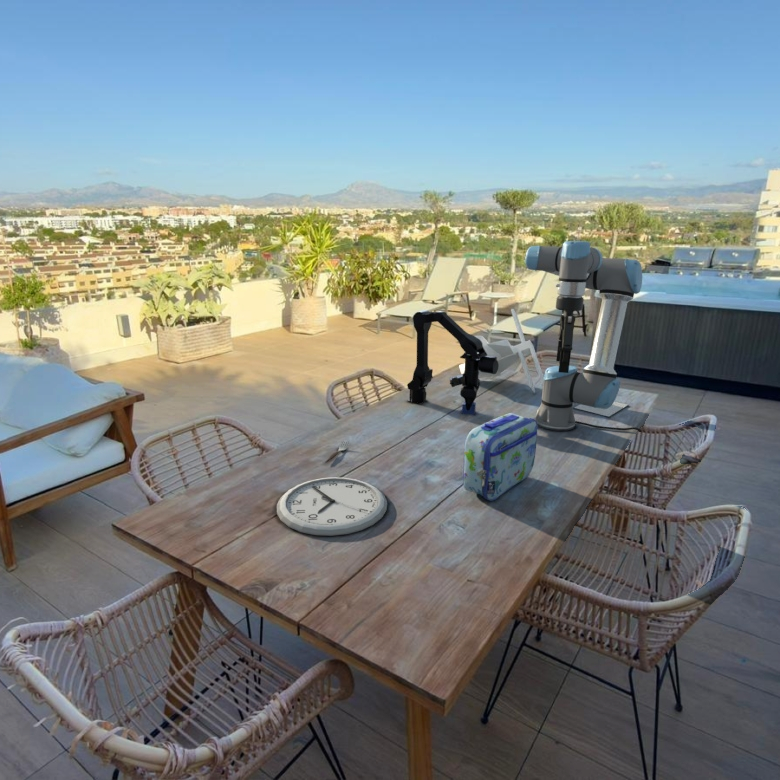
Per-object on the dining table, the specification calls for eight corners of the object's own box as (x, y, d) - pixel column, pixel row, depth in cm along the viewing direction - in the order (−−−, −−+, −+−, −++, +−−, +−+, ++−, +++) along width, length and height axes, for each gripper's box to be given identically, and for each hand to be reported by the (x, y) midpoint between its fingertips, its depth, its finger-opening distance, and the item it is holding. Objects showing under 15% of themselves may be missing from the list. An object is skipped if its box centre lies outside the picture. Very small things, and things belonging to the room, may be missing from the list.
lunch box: (487, 508, 142) (493, 436, 136) (456, 493, 150) (460, 425, 143) (537, 478, 160) (544, 414, 154) (507, 466, 167) (513, 405, 161)
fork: (322, 463, 168) (321, 457, 167) (343, 444, 182) (343, 439, 181) (329, 464, 167) (329, 458, 166) (349, 446, 181) (349, 440, 180)
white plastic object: (480, 422, 262) (459, 399, 237) (462, 348, 284) (440, 320, 259) (552, 397, 249) (538, 371, 225) (527, 322, 271) (511, 291, 247)
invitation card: (608, 416, 214) (573, 407, 224) (608, 416, 214) (573, 408, 224) (628, 404, 229) (594, 396, 238) (628, 405, 229) (594, 397, 238)
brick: (462, 410, 219) (463, 401, 218) (475, 411, 218) (475, 402, 216) (461, 413, 215) (462, 404, 214) (474, 415, 214) (475, 405, 213)
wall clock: (392, 527, 129) (268, 531, 127) (391, 533, 130) (269, 537, 127) (383, 473, 158) (282, 475, 155) (383, 478, 158) (282, 480, 156)
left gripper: (454, 363, 221) (452, 398, 226) (448, 374, 204) (446, 412, 209) (481, 365, 219) (478, 400, 223) (477, 376, 201) (474, 414, 206)
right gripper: (554, 290, 165) (547, 356, 171) (559, 300, 141) (550, 376, 148) (580, 291, 163) (571, 358, 169) (588, 302, 140) (578, 378, 146)
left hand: (469, 406), depth 215 cm, fingers open, 9 cm apart
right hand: (561, 366), depth 158 cm, fingers open, 13 cm apart
